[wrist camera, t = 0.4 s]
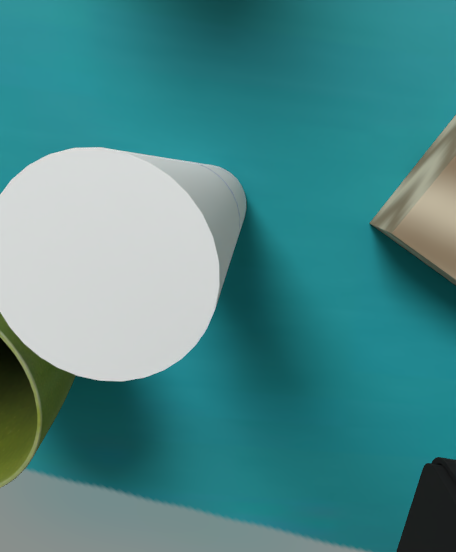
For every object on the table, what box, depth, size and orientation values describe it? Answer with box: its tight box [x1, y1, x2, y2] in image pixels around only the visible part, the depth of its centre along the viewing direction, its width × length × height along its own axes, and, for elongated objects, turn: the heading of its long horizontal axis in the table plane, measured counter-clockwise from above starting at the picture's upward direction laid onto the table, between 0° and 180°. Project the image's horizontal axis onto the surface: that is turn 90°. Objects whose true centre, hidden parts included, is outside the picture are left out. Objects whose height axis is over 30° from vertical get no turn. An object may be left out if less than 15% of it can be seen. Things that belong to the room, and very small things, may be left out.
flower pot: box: [0, 312, 76, 488], centre depth 32 cm, size 15×15×16 cm
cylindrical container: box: [0, 147, 246, 381], centre depth 23 cm, size 7×7×25 cm
